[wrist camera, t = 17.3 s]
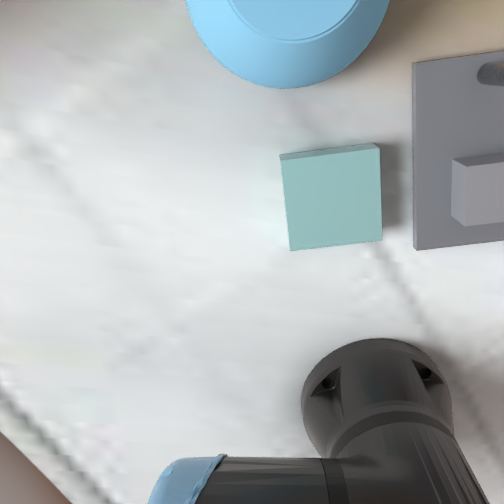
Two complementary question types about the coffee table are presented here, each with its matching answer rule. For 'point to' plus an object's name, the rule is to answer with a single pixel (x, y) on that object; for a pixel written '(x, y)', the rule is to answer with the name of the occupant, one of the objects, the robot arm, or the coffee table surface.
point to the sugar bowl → (286, 36)
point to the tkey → (491, 74)
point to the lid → (332, 196)
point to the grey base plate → (457, 153)
